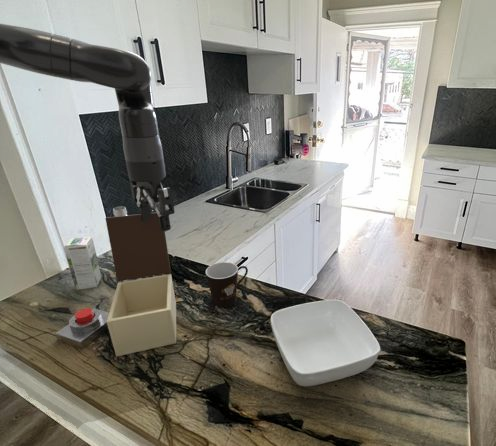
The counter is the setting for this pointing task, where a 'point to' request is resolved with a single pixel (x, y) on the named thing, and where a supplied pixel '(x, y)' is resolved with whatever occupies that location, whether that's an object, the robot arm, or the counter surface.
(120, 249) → the lid
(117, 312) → the cream hinged box
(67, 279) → the counter surface
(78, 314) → the button
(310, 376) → the bowl
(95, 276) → the syrup box
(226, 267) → the coffee mug
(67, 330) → the control block
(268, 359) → the counter surface
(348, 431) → the counter surface
